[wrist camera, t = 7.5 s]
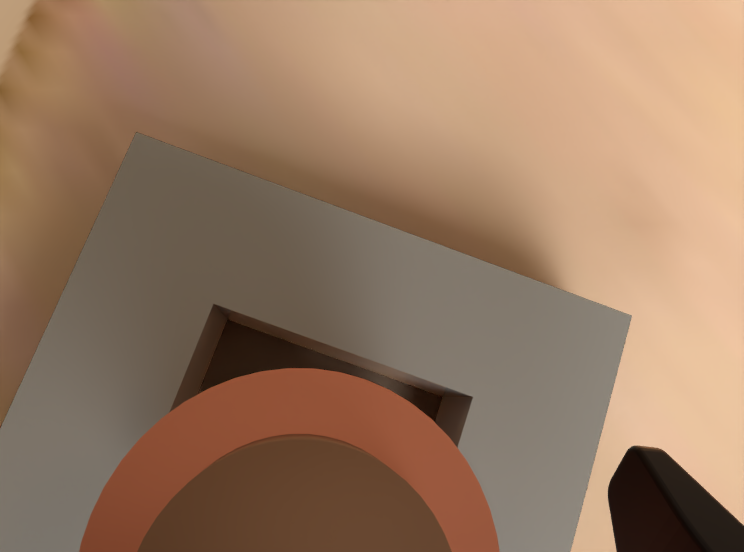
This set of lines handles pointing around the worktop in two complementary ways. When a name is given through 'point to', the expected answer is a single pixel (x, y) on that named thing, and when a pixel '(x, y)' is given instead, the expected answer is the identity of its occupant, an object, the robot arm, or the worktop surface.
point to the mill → (293, 475)
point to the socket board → (299, 343)
